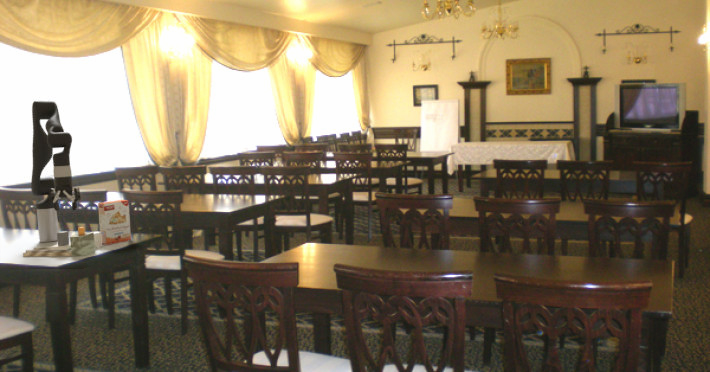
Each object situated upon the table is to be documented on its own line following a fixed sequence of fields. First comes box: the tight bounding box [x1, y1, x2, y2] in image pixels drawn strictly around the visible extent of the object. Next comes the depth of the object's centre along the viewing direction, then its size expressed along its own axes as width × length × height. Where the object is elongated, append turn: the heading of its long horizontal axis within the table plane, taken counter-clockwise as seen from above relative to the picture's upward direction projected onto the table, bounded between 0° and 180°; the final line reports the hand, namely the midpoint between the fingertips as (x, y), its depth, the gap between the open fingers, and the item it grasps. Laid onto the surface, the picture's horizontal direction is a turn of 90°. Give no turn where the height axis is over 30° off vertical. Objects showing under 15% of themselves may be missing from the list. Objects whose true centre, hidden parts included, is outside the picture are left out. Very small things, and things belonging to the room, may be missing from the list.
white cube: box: [88, 230, 102, 248], centre depth 316 cm, size 7×7×7 cm
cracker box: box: [97, 199, 132, 246], centre depth 325 cm, size 14×6×21 cm, turn 143°
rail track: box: [22, 232, 96, 257], centre depth 302 cm, size 30×10×9 cm, turn 83°
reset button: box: [77, 226, 86, 235], centre depth 300 cm, size 3×3×5 cm
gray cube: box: [49, 230, 71, 250], centre depth 301 cm, size 8×9×8 cm
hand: (65, 210), depth 299 cm, fingers open, 8 cm apart
